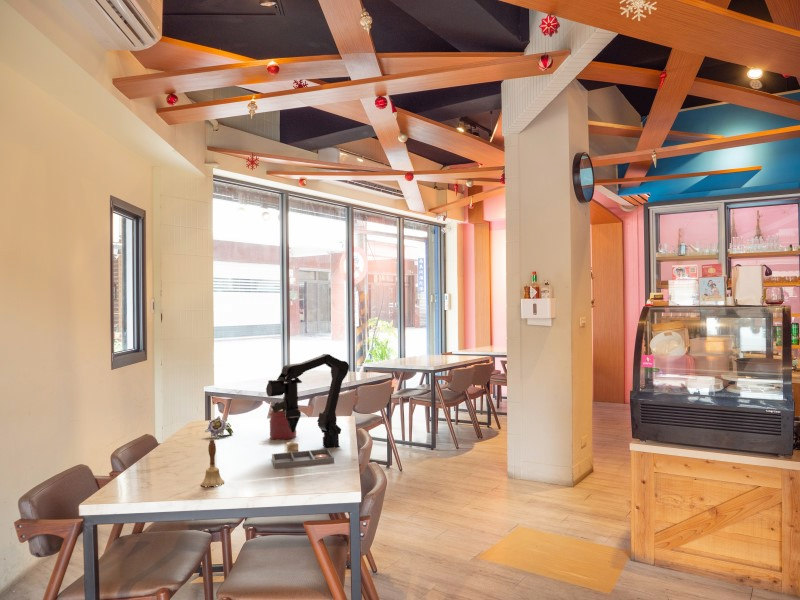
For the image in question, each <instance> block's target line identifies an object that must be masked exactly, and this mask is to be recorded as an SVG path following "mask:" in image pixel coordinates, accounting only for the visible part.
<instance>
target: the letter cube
mask: <svg viewBox="0 0 800 600" xmlns="http://www.w3.org/2000/svg"><path fill="white" fill-rule="evenodd" d="M289 452H299V442H298V441H289V442H287V441H286V453H289Z"/></svg>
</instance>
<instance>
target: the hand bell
mask: <svg viewBox="0 0 800 600" xmlns="http://www.w3.org/2000/svg"><path fill="white" fill-rule="evenodd" d="M216 447H217V446H216V443H215V439H210V440H209V444H208V447H207V448H208V449H207V450H208V455H209V467H208V468H207V469H205V476H204V479H203V480H202V481H201V483H200V486H201V485H202V486H216V485H220V484H223V483H224V482H225V480H224V479H222V477H221V473H220V468H218V467H216V462H215V455H216V452H217V450H216V449H217V448H216ZM224 484H225V483H224ZM224 484H223V485H224ZM202 486H201V487H202ZM220 486H221V485H220ZM216 487H217V486H216Z"/></svg>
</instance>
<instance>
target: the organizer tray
mask: <svg viewBox="0 0 800 600" xmlns="http://www.w3.org/2000/svg"><path fill="white" fill-rule="evenodd" d="M321 454H324V455H327V458H321V459H315V456H316V455H321ZM271 460H272V464H273V467H274V469H275V470H276V469H286V468H297V467H305V466H315V465H316V466H317V465H323V464H325V465H326V464H335V463H334V462H335V457H334V456H333V454H332V453H331V452H330V450H329V448H323V449H321V448H320V449H311V450H301V451H299V450H298V452H289V453H287V452H282V453H281V452H279V453H272V454H271Z"/></svg>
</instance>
